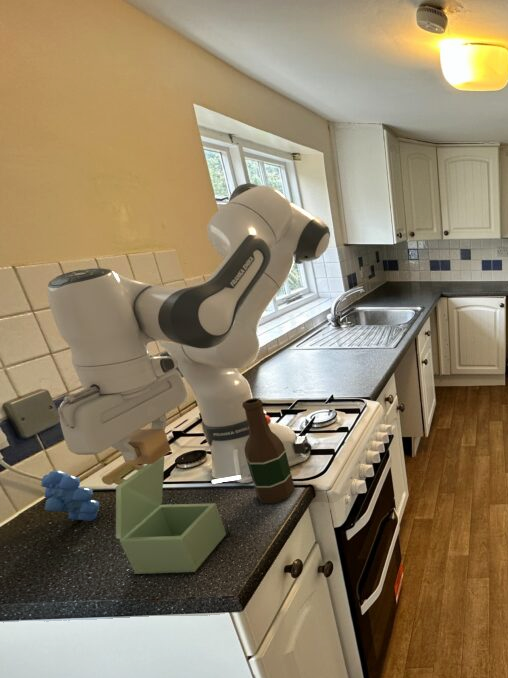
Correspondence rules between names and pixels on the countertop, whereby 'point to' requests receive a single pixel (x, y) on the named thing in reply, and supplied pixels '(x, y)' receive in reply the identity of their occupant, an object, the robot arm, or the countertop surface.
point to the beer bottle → (266, 457)
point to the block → (149, 445)
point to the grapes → (69, 496)
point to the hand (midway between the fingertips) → (147, 448)
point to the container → (174, 538)
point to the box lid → (136, 493)
